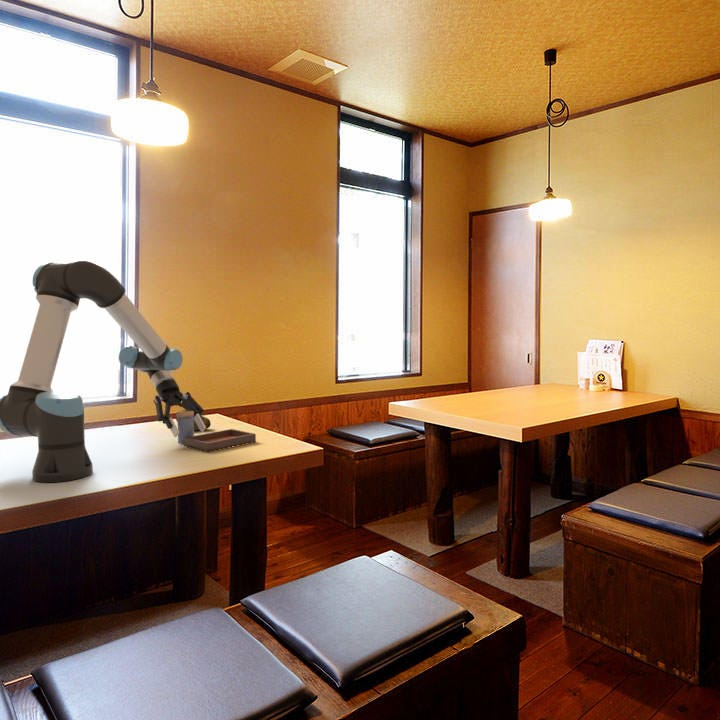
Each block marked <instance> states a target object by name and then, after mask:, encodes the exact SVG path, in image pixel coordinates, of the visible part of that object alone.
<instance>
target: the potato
mask: <svg viewBox="0 0 720 720" xmlns="http://www.w3.org/2000/svg"><path fill="white" fill-rule="evenodd" d="M180 411H187V410H185V409H182V410H180ZM201 416H202V418H203V420H204V421H203V423H204V425H205V426H206V429H205V430H208V429H209V428H210V427H211V420H210V419H209V418H208V417H205V415H201ZM194 417H195V416H194ZM175 421H176V422H177V413H176V414H175ZM197 430H199V431H200V429H199V427H198V425H197V423H196V421H195V420H194V432H196V431H197Z"/></svg>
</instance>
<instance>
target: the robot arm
mask: <svg viewBox="0 0 720 720" xmlns="http://www.w3.org/2000/svg"><path fill="white" fill-rule="evenodd" d="M32 286H33V287H34V288H33V289H34V292H35V293H36V296H35V299H36V301H37V302H38V303H39V306H38V310H37V313H36V316H35V321H34V324H33V327H32V331H31V335H30V338H29V341H28V345H27V348H26V351H25V356H24V358H23V362H22V365H21V370H20V372H19V376H18V380H17V381H15V382H14V383H12V384H10V386H9V388H8V393H7V394H5V395H3V396H2V397H1V398H0V430H1V431H3V432H4V433H7V434H11V435H14V436H19V437H21V436H22V437H24V436H26V437H35V438H36V437H37V444H38V447H37V448H38V449H37V450H38V451H37V455H36V458H35V461H34V466H33V468H32V473H31V474H32V480H33V481H34V480H35V482H37V481H38V483H62V482H69V481H75V480H79V479H82V478H83V479H84V478H85V477H88V476H90V475H91V474H92V473H93V471H94V470H93V466H94V465H93V462H92V460H91V458H90V455H89V453H88V451H87V448H86V442H85V441H86V440H85V438H86V437H85V436H86V435H85V407H84V402H83V398H82V396H80V395H79V394H77V393H75V392H69V391H60V390H59V391H58V390H53V389H52V387H51V386H52V382H53V379H54V376H55V372H56V369H57V365H58V361H59V357H60V353H61V350H62V345H63V343H64V339H65V335H66V331H67V328H68V324H69V319H70V315H71V313H72V312H74V311H76V310H77V309H78V308H79V305H80V301H81V299H88V300H90V301H92V302H93V303H94V304H96V306H97V307H98V308H100V309H104V310H105V311H106V312H107V313H108V314H109V315H110V316H111V318H112V319H113V320H114V322H116V323H117V324H118V326H120V328H121V329H122V330H123V331H124V332H125V333H126V334H127V335H128V337H129V338H130V339H131V340H132V341H133V343H135V344H136V346H137V347H136V346H133V345H125V346H124V347H122V348H121V350H120V351H119V353H118V362H119V364H120V365H122V366H124V367H126V368H129V369H132V370H136V371H139V372H142V373H145V374H147V375H148V377H149V380H150V381H151V383H152V384H153V387H154V388H155V391H156V392H157V394H158V395H155V397H154V399H153V404H154V405H155V410H156V418H157V422H159V423H161V422H162V424H163V425H164V424H165V425H166V427H167V429H168V430H169V429H170V432H171V433H172V435H173V437H174V438H178V434H179V431H178V426H177V424H176V423H175V421H174V419H173V417H170V415H171V414H170V413H171V408H172V407H174V406H176V407H177V406H178V407H180V408H182V409H183V410H187V411H194V416H195V417H194V420H195V421H196V423H197V425H198V427H199V429H200V430H199V431H200V433H204V432H205V430H207V429H206V426H205V425H204V423H203V421H204V420H203V418H202V416H203V415H202V414H203V413H204V411H205V410H204V408H203V407H202V406H201V405H200V404H199V403H198V402H197V401H196V400H195V399H194V398H193V397H192V395H191V393H190V392H189V391H187V392H185V393H182V392H181V390H180V387H179V385H178V384H177V381H176V380H175V376H174V375H173V373H172V372H171V371H177V370H179V369H180V368H181V367H182V365H183V361H184V359H183V354H182V352H181V351H180V350H179V349H175V348H170V347H169V346H168V345H167V344H166V342H165V341H164V340H163V339H162V337H161V336H160V334H158V332H157V331H156V329H154V327H153V326H152V325H151V324H150V323H149V321H148V320H147V319H146V318H145V317H144V315H143V314H142V312H140V310H139V309H138V308H137V306H135V304H134V303H133V301H132V300H131V299H130V298H129V297H128V296H127V295H126V288H125V286H124V285H122V283H121V282H120V281H119V279H117V278H116V277H115V276H114V275H113V274H112V273H111V272H110V271H109V270H107V269H106V268H105V267H104V266H102V265H100V264H99V263H96V262H94V261H92V260H89V259H74V260H72V259H71V260H58V259H57V260H52V261H48V262H44V263H43V264H41V265H39V266H38V267H37V268H36V270H35V271H34V273H33V275H32ZM162 403H165V405H164V408H163V404H162ZM163 409H164V410H163Z"/></svg>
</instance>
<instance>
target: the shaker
mask: <svg viewBox="0 0 720 720" xmlns="http://www.w3.org/2000/svg"><path fill="white" fill-rule="evenodd" d="M176 414H177V421H176V422H177V429H178V431H179V434H178V435H177V443H178V444H179V443H182V444H181V445H184V438H185V437H191V436H195V431H194V411H181V410H179V411H176Z"/></svg>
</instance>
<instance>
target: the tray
mask: <svg viewBox="0 0 720 720" xmlns="http://www.w3.org/2000/svg"><path fill="white" fill-rule="evenodd" d="M256 437H257V434H256V433H253V432H248V431H244V430H239V429H236V428H235V429H234V428H230V429H224V430H218V431H214V432H208V433H203V434H197V435H194V436H191V437H185V438H184V444H183V447H185V446H187V447H186V448H188V447H191V448H190V449H192V448H194V449H193V450H196V449H198V450H197V451H200V450H202V451H201V452H204V451H206V452H205V453H207V452H208V453H211V452H210V451H213V452H215V451H214V450H217V451H220V450H219V449H222V450H224V449H223V448H226V449H229V448H228V447H231V448H233V447H232V446H236V447H238V446H237V445H240V446H243V445H242V444H245V445H247V444H246V443H250V444H252V443H251V442H254V443H256V441H257V440H256V439H257V438H256Z"/></svg>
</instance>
